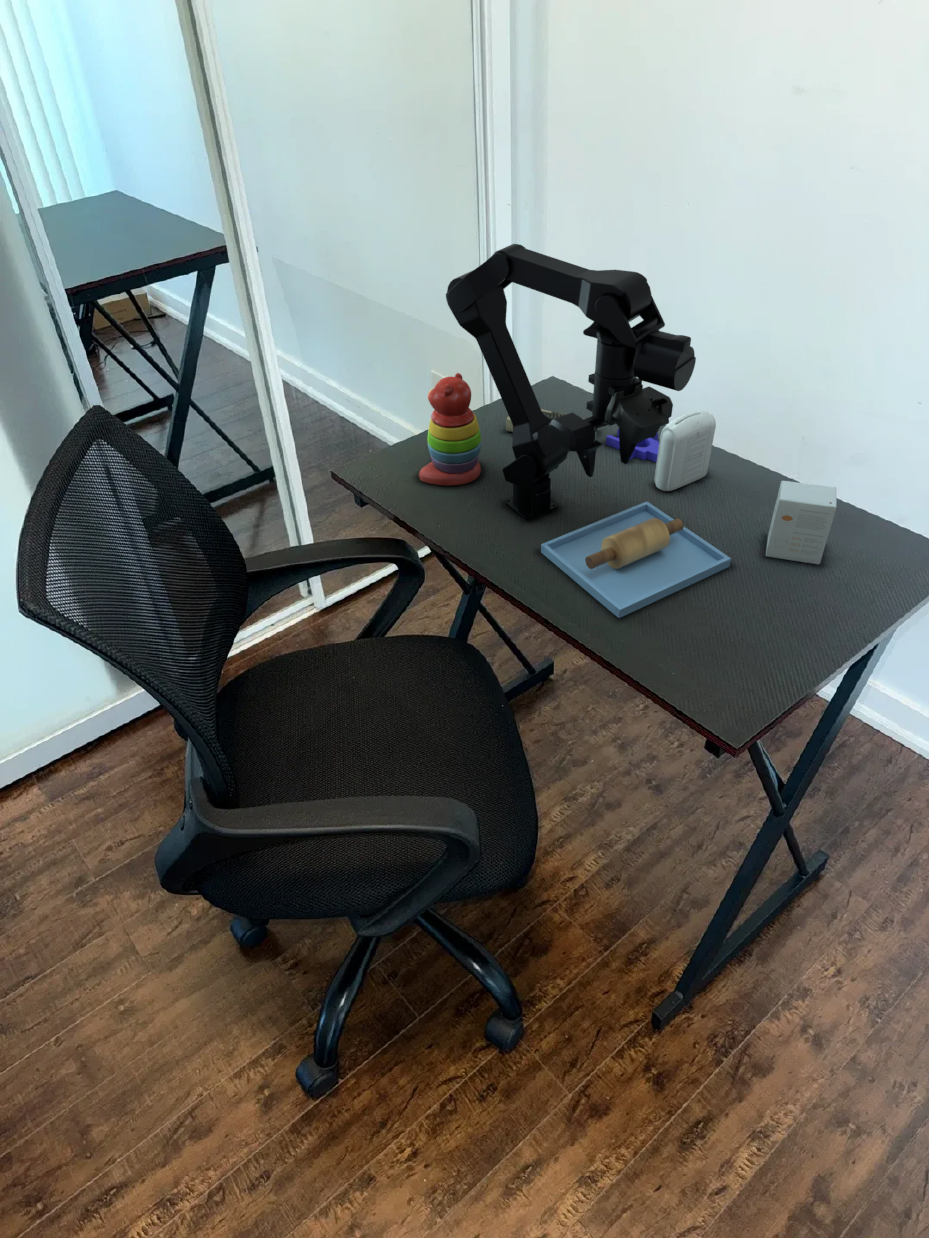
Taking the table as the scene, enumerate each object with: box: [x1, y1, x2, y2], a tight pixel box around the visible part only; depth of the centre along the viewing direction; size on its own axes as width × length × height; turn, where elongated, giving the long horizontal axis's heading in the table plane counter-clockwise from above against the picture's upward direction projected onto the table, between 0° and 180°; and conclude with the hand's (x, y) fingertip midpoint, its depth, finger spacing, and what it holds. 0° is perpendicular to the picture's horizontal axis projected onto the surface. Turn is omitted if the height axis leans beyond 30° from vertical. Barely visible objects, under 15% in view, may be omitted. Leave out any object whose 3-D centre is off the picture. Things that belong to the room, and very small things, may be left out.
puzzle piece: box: [605, 428, 660, 463], centre depth 151 cm, size 10×12×2 cm
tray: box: [540, 501, 732, 619], centre depth 126 cm, size 19×21×2 cm
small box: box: [765, 480, 837, 565], centre depth 124 cm, size 8×6×10 cm
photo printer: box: [653, 410, 717, 492], centre depth 139 cm, size 10×4×12 cm, turn 123°
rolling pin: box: [585, 518, 685, 569], centre depth 125 cm, size 5×18×5 cm, turn 121°
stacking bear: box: [418, 372, 482, 486], centre depth 142 cm, size 11×10×18 cm
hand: (606, 469), depth 124 cm, fingers open, 6 cm apart
